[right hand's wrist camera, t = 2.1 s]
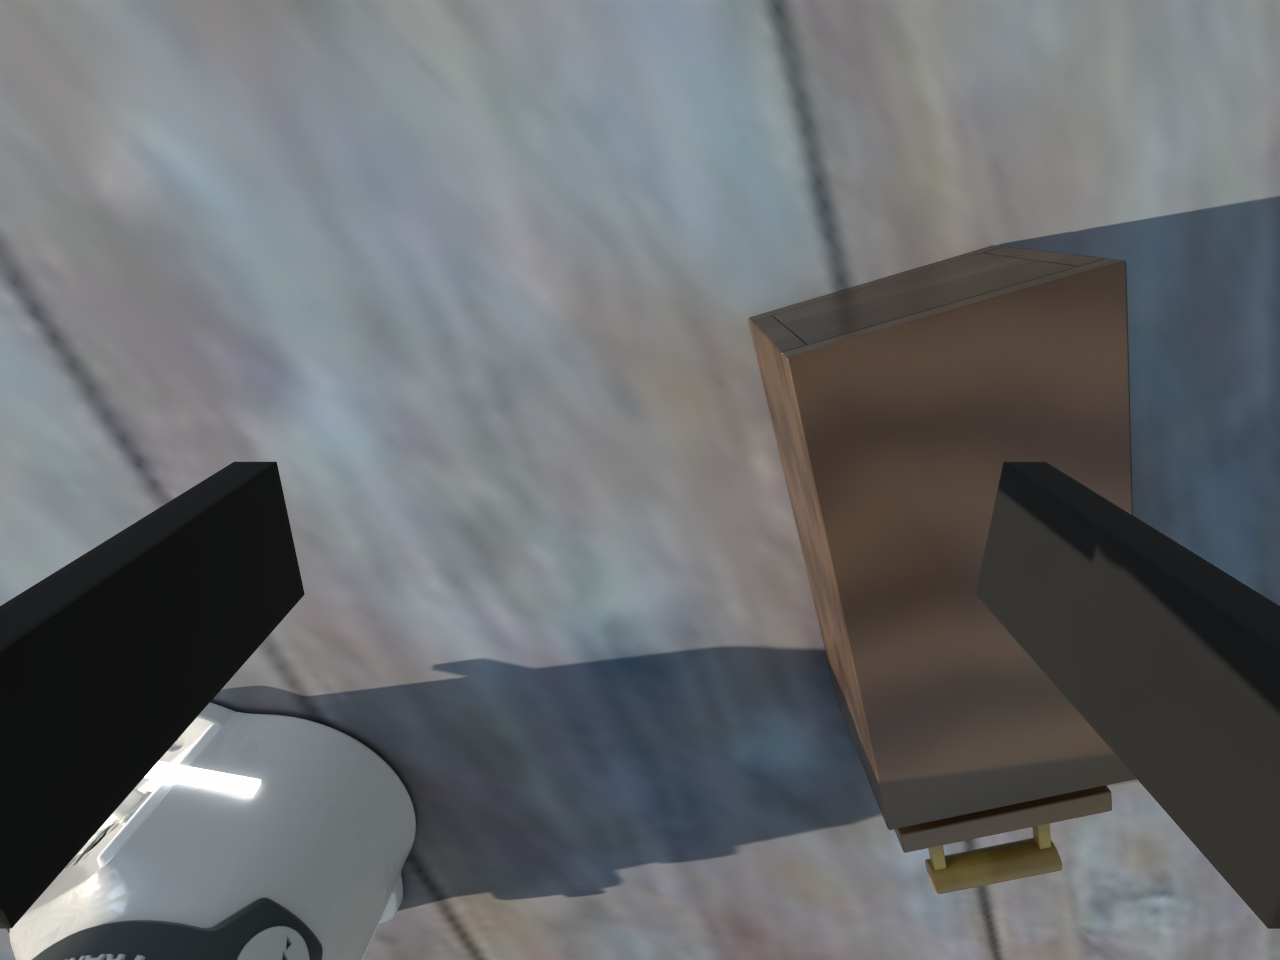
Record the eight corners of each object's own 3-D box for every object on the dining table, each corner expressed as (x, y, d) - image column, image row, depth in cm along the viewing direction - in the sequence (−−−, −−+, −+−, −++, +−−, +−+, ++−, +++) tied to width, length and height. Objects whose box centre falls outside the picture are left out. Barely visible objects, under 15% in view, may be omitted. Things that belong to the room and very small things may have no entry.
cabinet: (1033, 656, 36) (1140, 779, 28) (837, 701, 37) (888, 831, 29) (994, 244, 28) (1127, 259, 20) (748, 318, 29) (785, 357, 21)
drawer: (1043, 796, 38) (1117, 903, 32) (880, 830, 39) (922, 941, 33) (1000, 346, 29) (1092, 383, 23) (785, 407, 30) (821, 456, 24)
